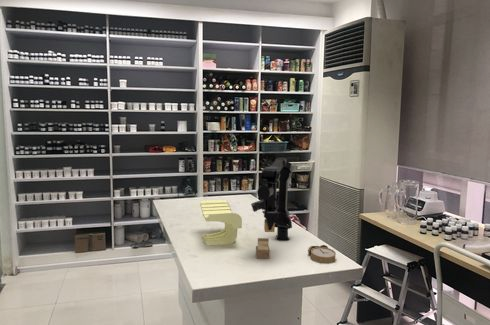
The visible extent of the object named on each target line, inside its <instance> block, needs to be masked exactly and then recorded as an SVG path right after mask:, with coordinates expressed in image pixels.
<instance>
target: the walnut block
mask: <svg viewBox="0 0 490 325" xmlns="http://www.w3.org/2000/svg"><path fill="white" fill-rule="evenodd" d="M257 249H258V245H256V246H255V259H257V260H265V259H266V260H269V259H270V258H271V257H270V254H271V252H270V249H269V250H257Z"/></svg>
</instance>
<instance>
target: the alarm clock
mask: <svg viewBox="0 0 490 325" xmlns="http://www.w3.org/2000/svg"><path fill="white" fill-rule="evenodd" d="M307 253H308V255H309V256H310V260H312V261H313V262H315V263H318V264H331V263H334V262H335V261H337V258H336V255H337V254H336V251H335V250H334V249H333V248H329V247H328V246H327V245H326V244H321V245H320V246H319V245H310V246H309V247H308V248H307Z"/></svg>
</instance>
